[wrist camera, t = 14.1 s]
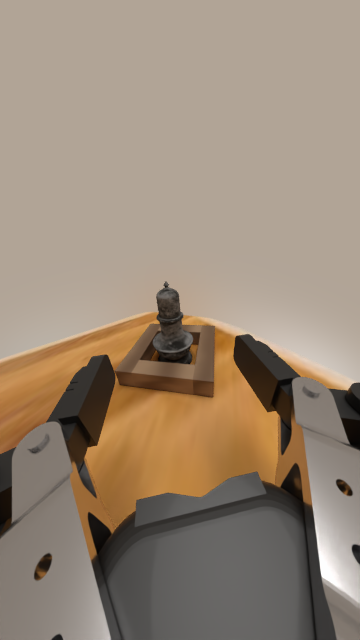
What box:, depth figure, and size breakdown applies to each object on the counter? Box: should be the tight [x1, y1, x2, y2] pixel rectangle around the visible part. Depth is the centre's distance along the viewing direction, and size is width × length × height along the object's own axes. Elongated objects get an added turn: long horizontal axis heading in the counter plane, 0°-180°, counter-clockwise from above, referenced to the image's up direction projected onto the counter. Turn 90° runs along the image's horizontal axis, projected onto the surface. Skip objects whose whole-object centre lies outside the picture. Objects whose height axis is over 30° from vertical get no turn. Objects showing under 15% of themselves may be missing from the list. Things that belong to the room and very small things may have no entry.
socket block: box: [115, 324, 215, 397], centre depth 23 cm, size 12×12×2 cm
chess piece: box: [153, 282, 193, 364], centre depth 21 cm, size 6×6×12 cm
